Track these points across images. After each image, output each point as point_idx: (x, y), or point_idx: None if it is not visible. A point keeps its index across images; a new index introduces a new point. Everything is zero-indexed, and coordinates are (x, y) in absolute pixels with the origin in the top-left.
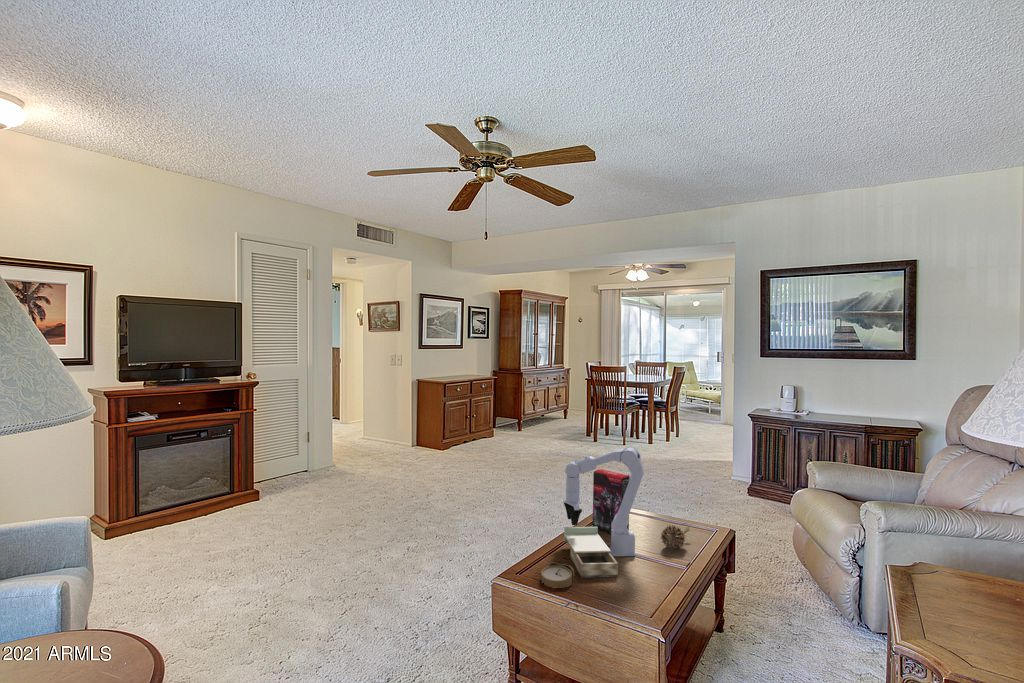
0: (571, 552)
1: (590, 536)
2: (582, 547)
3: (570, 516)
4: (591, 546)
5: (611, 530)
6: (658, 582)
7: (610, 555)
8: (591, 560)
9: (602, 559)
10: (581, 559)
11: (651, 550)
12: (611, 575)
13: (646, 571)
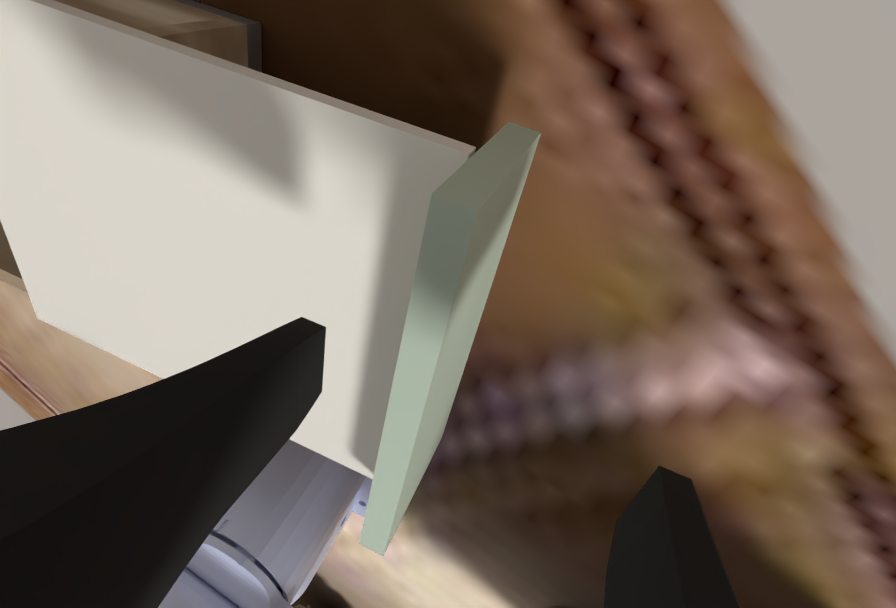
0: (156, 14)
1: (327, 391)
2: (35, 125)
3: (631, 550)
4: (81, 233)
5: (219, 545)
6: (8, 333)
7: (11, 276)
8: None
9: None
10: None
11: (332, 558)
12: None
13: (103, 372)
